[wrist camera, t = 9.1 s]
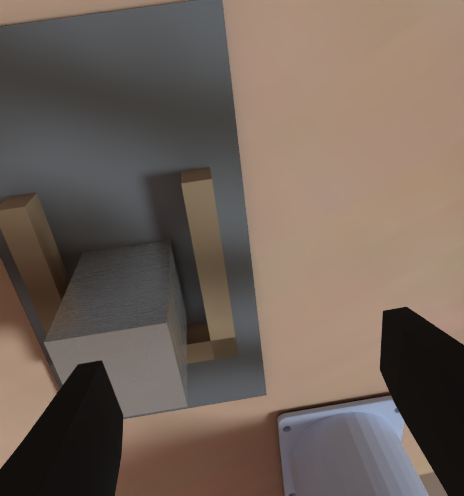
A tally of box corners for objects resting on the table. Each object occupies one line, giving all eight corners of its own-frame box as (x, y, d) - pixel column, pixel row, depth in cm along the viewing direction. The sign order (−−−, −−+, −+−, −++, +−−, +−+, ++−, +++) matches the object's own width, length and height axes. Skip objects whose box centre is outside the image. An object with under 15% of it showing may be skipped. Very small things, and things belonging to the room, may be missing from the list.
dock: (265, 389, 25) (271, 416, 23) (78, 420, 24) (70, 450, 23) (220, -3, 15) (225, -6, 13) (-91, 39, 15) (-126, 41, 13)
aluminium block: (186, 309, 21) (187, 406, 16) (106, 322, 21) (80, 424, 15) (171, 238, 19) (166, 322, 14) (82, 252, 19) (44, 342, 14)
